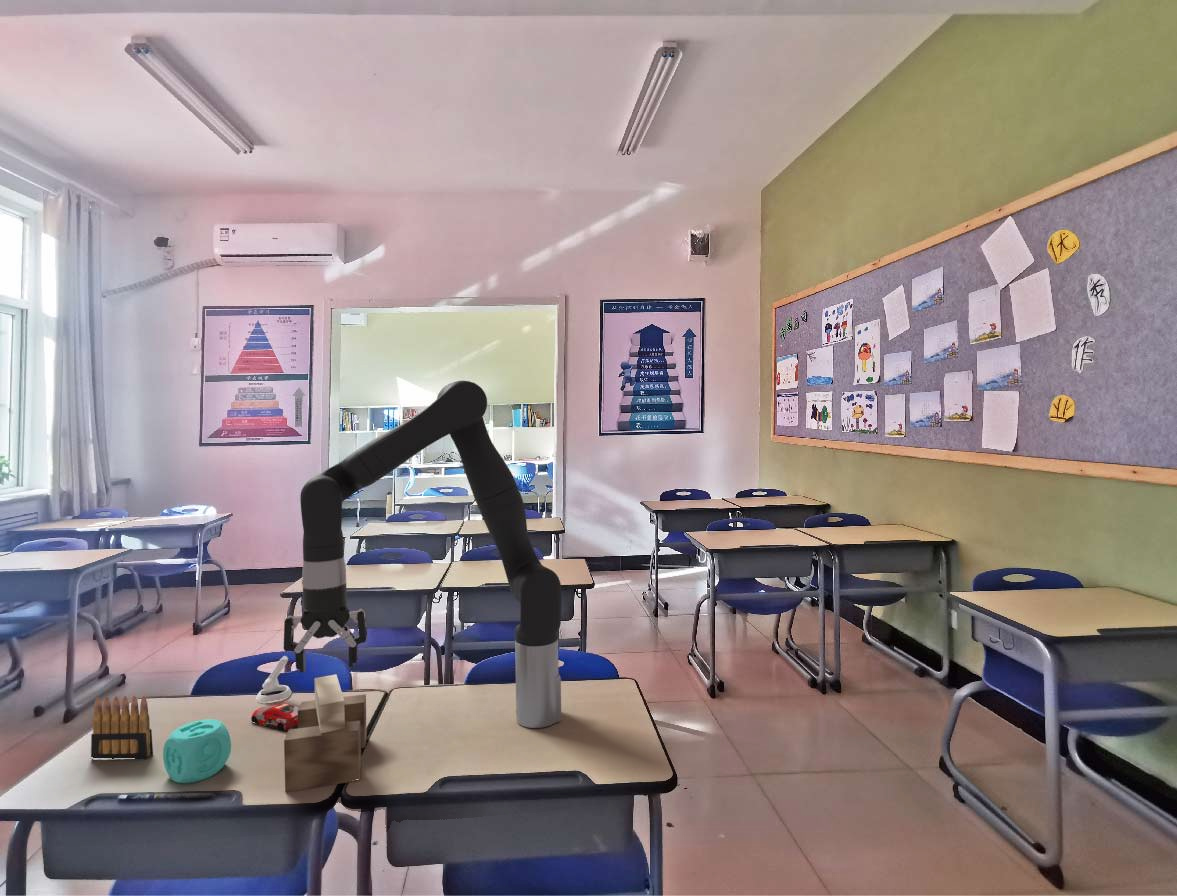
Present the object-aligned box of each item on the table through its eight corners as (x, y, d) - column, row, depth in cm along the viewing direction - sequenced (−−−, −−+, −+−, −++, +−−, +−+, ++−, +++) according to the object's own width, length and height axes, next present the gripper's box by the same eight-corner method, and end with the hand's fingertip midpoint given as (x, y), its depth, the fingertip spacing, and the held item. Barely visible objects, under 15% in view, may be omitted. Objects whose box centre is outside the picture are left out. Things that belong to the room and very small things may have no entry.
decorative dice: (208, 756, 117) (207, 715, 117) (232, 767, 113) (231, 724, 113) (162, 776, 110) (161, 732, 110) (186, 788, 106) (185, 743, 106)
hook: (301, 681, 140) (273, 667, 138) (275, 720, 141) (247, 706, 140) (312, 663, 147) (286, 649, 146) (287, 700, 149) (260, 687, 147)
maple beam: (336, 699, 121) (336, 674, 121) (344, 728, 109) (344, 700, 109) (315, 703, 119) (314, 678, 119) (320, 733, 107) (319, 705, 107)
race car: (246, 723, 131) (245, 705, 131) (268, 713, 136) (268, 695, 136) (288, 735, 126) (288, 715, 126) (310, 723, 131) (310, 705, 130)
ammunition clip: (90, 760, 116) (88, 698, 116) (98, 755, 118) (96, 694, 118) (146, 759, 116) (145, 697, 116) (153, 754, 118) (152, 693, 118)
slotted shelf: (366, 738, 123) (365, 694, 123) (359, 780, 108) (358, 730, 108) (302, 746, 120) (301, 701, 120) (285, 791, 105) (284, 740, 104)
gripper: (366, 574, 119) (369, 656, 119) (287, 581, 115) (290, 665, 115) (363, 583, 112) (365, 670, 112) (278, 590, 108) (281, 680, 108)
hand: (327, 668), depth 114 cm, fingers open, 8 cm apart
